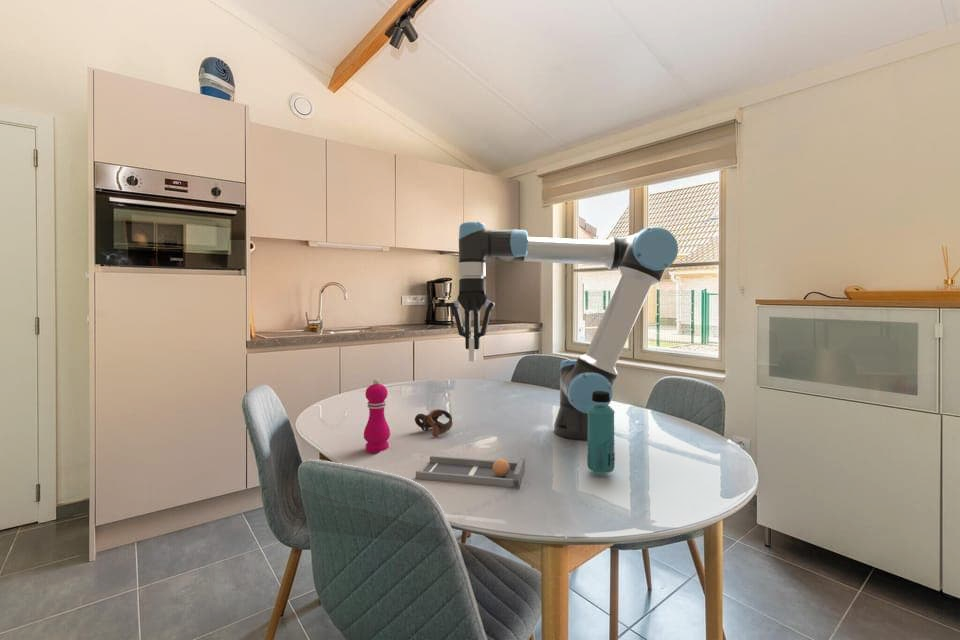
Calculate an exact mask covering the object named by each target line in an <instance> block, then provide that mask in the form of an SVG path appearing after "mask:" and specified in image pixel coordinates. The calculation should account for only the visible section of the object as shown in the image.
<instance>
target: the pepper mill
mask: <svg viewBox="0 0 960 640" xmlns="http://www.w3.org/2000/svg"><path fill="white" fill-rule="evenodd" d="M380 381H381V380H380V379H379V378H374V379H373V381H372V382H373V384H370V385H369V386H368V387H366V390H365V394H364V395H365V399H367V401H368V402H367V408H368V410H369V414H368V421H367V422H366V425H365V427H364V430H363V431H364V432H363V439H364V440H365V441H366V444H365V452H367V453H369V454H379V453H380V452H383V451H386V450H388V449H389V441H388V440H389V438H390V436H391V430H390V426H389V424H388V423H387V420H386V418H385V407H386V406H387V404H386V399H387V397H388V389H387V387H386V386H385V385H383V384H380Z"/></svg>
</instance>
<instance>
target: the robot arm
mask: <svg viewBox="0 0 960 640" xmlns="http://www.w3.org/2000/svg"><path fill="white" fill-rule="evenodd" d="M486 227H487V226H486V224H485V223H484V222H480V221H466V222H463V223H461V224H460V225H459V228H458V229H459V233H458V277H459V278H460V279H459V280H458V292H459V293H458V296H457V299H456V300H454V301H453V302H450V303H449V306H450V308H451V309H452V311H453V315H454V319H455V323H456V328H457V332H458V335H459V336H460V337H461V336H462V337H463V338H465V339H464V340H465V343H464V345H465V349H466V350H468V362H475V361H477V350H479V349H480V347H481V346H480V341H481V340H480V338H481V337H483V336H486V335H487V331H488V326H489V322H490V318H491V315H492V311H493V309H494V307H495V306H496V303H495V302H492V301H491V300H489V299H488V296H487V292H486V288H487V287H486V281H487V280H486V278H484V277H486V274H487V273H486V272H487V271H486V257H488V258H491V257H492V258H493V257H494V258H496V257H497V258H498V259H499V260H501V261H503V262H508V263H509V262H531V263H533V262H534V263H555V264H571V265H572V264H574V265H592V266H594V265H595V266H605V267H606V268H607V269H608V270H619V275H620V277H619V280H618V281H617V283H616V286H615V288H614V290H613V293H612V295H611V296H610V299H609V301H608V304H607V306H606V308H605V311H603V312H604V313H603V315H602V317H601V319H600V321H599V324H598V326H597V328H596V331H595V332H594V334H593V337H592V339H591V341H590V344H589V346H588V347H587V350H586V352H585V353H584V354H581V355H580V356H578V357H577V359H562V360H561V361H560V363H559V364H560V366H559V375H560V376H559V409H558V412H557V416H556V418H555V421H554V424H553V426H554V427H553V432H554V433H555V434H556V435H558V436H560V437H562V438H563V437H564V438H567V439H572V440H587V436H588V409H589V408H590V407H591V406H592V405H595V404H603V405H608V406H610V403H611V401H612V399H613V391H614V390H613V385H614V384H615V381H616V378H617V377H618V374H619V373H618V370H617V369H616V365H617V362H618V360H619V358H620V356H621V354H622V351H623V350H624V347H625V345H626V343H627V341H628V338H629V336H630V334H631V331H632V330H633V328H634V325H635V323H636V321H637V319H638V317H639V314H640V312H641V310H642V308H643V306H644V303H645V301H646V299H647V296H648V294H649V292H650V290H651V288H652V287H653V286H656V285H658V284H660V282H661V280H662V278H663V275H664V273H665V271H666V269H667V268H669V267H670V266H671V265H672V264H673V263H674V262H675V261H676V260H677V257H678V254H679V245H678V244H679V243H678V241H677V239H676V237H675V236H674V234H673V233H672V232H671V231H669V230H668V229H667V228H664V227H661V226H651V227H649V226H648V227H646V228H642V229H640V230H639V231H638V232H636V233H634V234H631V235H628V236H621V237H618V236H617V237H616V236H614V237H613V236H612V237H609V238H608V239H607V240H602V239H585V238H584V239H581V238H561V237H539V236H538V237H537V236H529V233H528V231H527V229H517V228H514V229H487V228H486ZM460 305H461V307H462V308H463V310H464V324H463V319H462V314H461V310H460ZM484 306H485V308H486V309H485V312H484V315H483V321H482V324H481V320H480V319H481V316H480V315H481V310H482V308H483V307H484ZM472 311H473V335H472ZM480 324H481V325H480ZM472 336H473V337H472ZM594 391H605V392H608V393H609V396H610V402H595V401H592V395H593V392H594Z"/></svg>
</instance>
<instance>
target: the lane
mask: <svg viewBox="0 0 960 640" xmlns="http://www.w3.org/2000/svg"><path fill="white" fill-rule="evenodd" d="M495 461H496V460H492V459H491V460H490V459H479V458H468V457H467V458H465V457H451V456H439V455H430V456H429V462H428V464H427V465H426V466H425V467H424V468H423V470H416V471H415V479H417V480H424V481H425V480H428V481H440V482H449V483H461V484H473V485H484V486H495V487H504V488H505V487H506V488H516V489H517V488H518V491H520V488H521V484H522V481H523V478H524V475H525V470H526V467H525V465H526V463H525V462H526V461H525V456H519V457H518V460H517V461H507V462H508V463H509V466H510V470H509V472H508V474H507V475H506V476H503V477H499V476H497V475H496V474H495V473H494V472H493V464H494V462H495Z"/></svg>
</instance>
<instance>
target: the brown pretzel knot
mask: <svg viewBox="0 0 960 640" xmlns="http://www.w3.org/2000/svg"><path fill="white" fill-rule="evenodd" d="M443 415H444V416H445V417H446V418H447V419H448V422H445V423H443V422H441V421H439V420H438V419H439V417H442V416H443ZM414 422H415V424H416V425H417V426H418V427H419V428H421V430H422V432H423V431H427V430H428V429H431V428H432V429H433V431H432V433H431V434H432V435H431V436H433V437H435V438H438V437H439V435H442V434H444V433H446V432H447V433H448V431H450V430H451V429H452V427H453V423H454V422H453V417H452V414H450V412H448V411H446V410H444V409H438V408H437V409H433V410H431V411H430V413H428V414H424V413H418V414H416V415H415V417H414Z"/></svg>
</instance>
